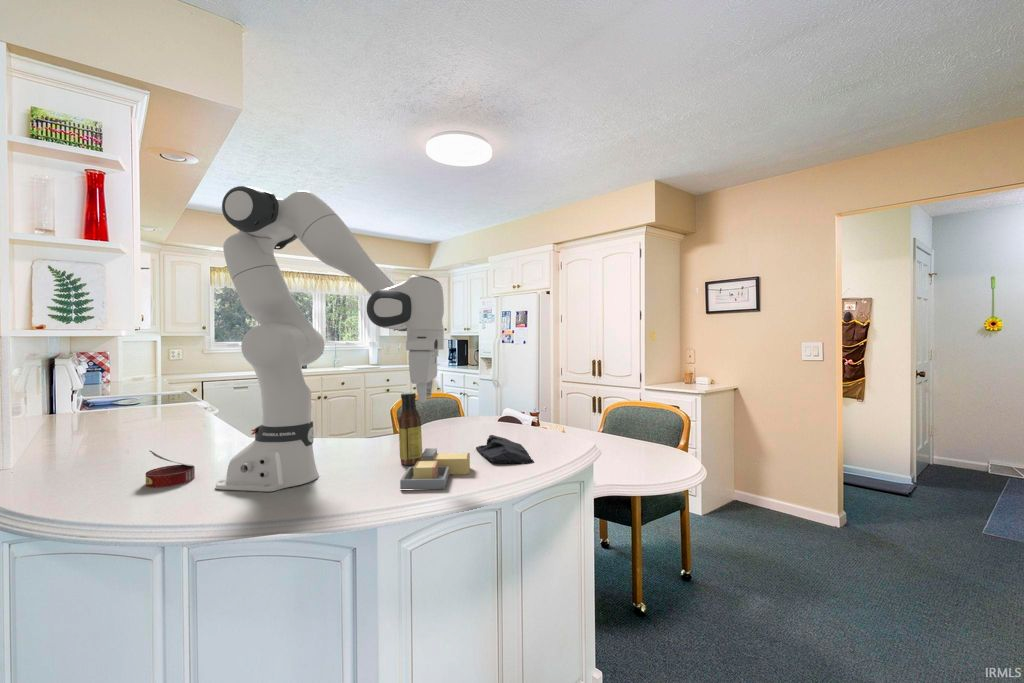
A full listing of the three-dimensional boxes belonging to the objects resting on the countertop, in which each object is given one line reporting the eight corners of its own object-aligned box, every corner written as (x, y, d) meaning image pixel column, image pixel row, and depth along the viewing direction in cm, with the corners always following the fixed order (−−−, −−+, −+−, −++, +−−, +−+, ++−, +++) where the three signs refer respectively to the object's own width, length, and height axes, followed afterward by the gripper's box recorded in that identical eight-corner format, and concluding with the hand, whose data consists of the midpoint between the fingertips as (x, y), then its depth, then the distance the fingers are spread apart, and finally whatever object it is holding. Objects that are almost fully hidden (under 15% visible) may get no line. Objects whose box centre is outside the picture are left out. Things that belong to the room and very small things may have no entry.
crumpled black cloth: (483, 468, 126) (483, 450, 126) (475, 449, 147) (474, 434, 147) (537, 464, 128) (537, 448, 128) (521, 447, 150) (521, 432, 150)
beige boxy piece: (421, 476, 117) (421, 455, 117) (425, 467, 125) (425, 448, 125) (468, 475, 117) (468, 455, 117) (470, 466, 125) (469, 447, 125)
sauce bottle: (425, 460, 132) (424, 391, 132) (418, 466, 126) (418, 394, 126) (403, 460, 133) (402, 391, 133) (395, 465, 127) (395, 394, 127)
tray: (400, 490, 105) (400, 480, 105) (409, 476, 117) (409, 466, 117) (444, 489, 106) (444, 479, 106) (449, 475, 117) (449, 466, 117)
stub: (413, 484, 108) (413, 467, 108) (417, 477, 114) (417, 460, 114) (435, 484, 108) (434, 466, 108) (438, 476, 114) (437, 460, 114)
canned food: (155, 498, 115) (159, 459, 120) (201, 490, 118) (203, 452, 122) (131, 490, 106) (136, 448, 110) (182, 481, 108) (184, 440, 113)
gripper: (419, 342, 121) (418, 394, 121) (404, 342, 101) (403, 405, 101) (442, 342, 122) (442, 394, 122) (433, 342, 101) (432, 405, 101)
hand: (425, 399), depth 111 cm, fingers open, 8 cm apart
